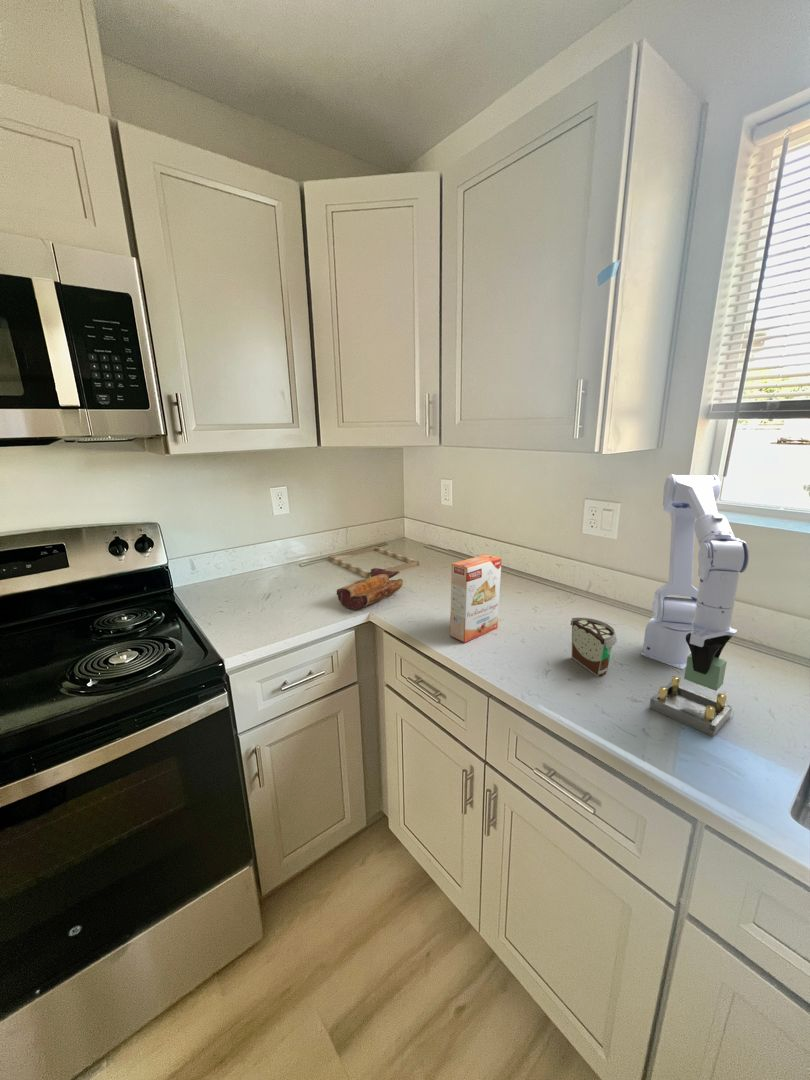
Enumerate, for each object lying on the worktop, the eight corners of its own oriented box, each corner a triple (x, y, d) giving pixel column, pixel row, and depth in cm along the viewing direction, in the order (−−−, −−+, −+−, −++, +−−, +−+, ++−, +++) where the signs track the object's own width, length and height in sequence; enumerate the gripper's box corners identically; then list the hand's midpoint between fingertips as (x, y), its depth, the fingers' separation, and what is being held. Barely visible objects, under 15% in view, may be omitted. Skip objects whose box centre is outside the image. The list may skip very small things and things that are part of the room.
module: (684, 679, 88) (687, 653, 86) (691, 672, 90) (694, 647, 88) (716, 691, 83) (720, 664, 82) (722, 684, 86) (727, 657, 84)
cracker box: (465, 644, 115) (467, 567, 110) (449, 636, 120) (449, 562, 114) (499, 628, 124) (502, 557, 119) (483, 622, 128) (485, 552, 123)
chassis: (649, 708, 88) (652, 687, 87) (668, 691, 93) (671, 672, 92) (713, 736, 79) (717, 714, 78) (730, 716, 85) (734, 695, 84)
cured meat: (377, 564, 162) (378, 582, 163) (326, 583, 143) (327, 603, 144) (417, 573, 151) (417, 592, 152) (367, 595, 132) (368, 616, 133)
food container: (625, 676, 99) (630, 635, 97) (602, 680, 98) (607, 639, 95) (588, 650, 111) (592, 613, 108) (567, 654, 109) (570, 617, 107)
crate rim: (329, 562, 188) (328, 556, 187) (375, 552, 202) (375, 546, 202) (369, 581, 164) (369, 573, 164) (419, 568, 179) (418, 561, 178)
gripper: (727, 620, 75) (715, 690, 79) (752, 599, 84) (740, 664, 87) (681, 607, 81) (671, 674, 84) (709, 589, 89) (700, 650, 93)
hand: (704, 668), depth 86 cm, fingers closed on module, 4 cm apart
